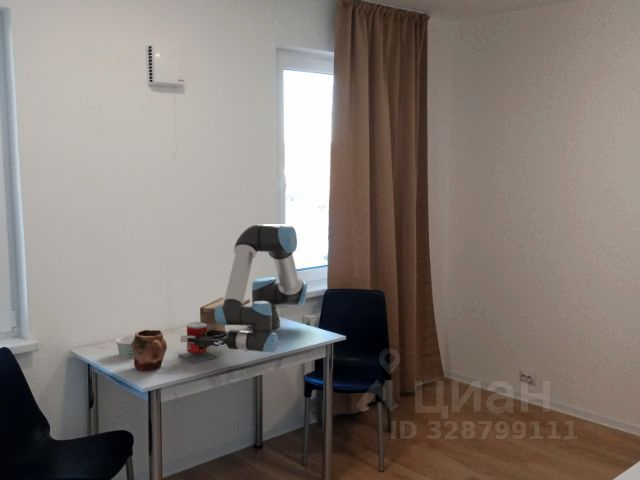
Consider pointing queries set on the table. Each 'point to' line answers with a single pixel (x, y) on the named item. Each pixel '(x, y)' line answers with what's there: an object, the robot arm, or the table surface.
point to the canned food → (200, 331)
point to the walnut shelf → (209, 314)
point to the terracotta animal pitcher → (148, 349)
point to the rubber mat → (197, 357)
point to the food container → (125, 346)
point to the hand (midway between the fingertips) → (186, 336)
